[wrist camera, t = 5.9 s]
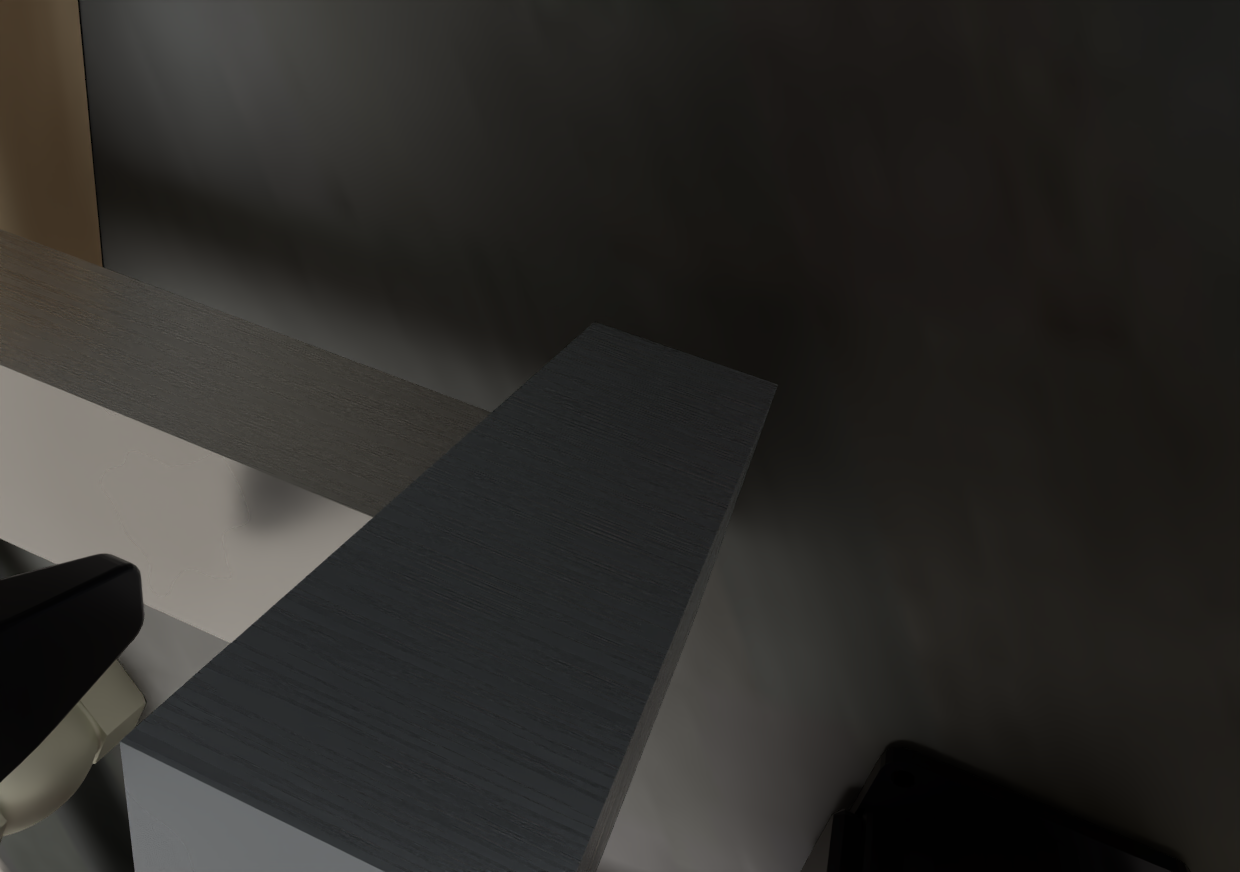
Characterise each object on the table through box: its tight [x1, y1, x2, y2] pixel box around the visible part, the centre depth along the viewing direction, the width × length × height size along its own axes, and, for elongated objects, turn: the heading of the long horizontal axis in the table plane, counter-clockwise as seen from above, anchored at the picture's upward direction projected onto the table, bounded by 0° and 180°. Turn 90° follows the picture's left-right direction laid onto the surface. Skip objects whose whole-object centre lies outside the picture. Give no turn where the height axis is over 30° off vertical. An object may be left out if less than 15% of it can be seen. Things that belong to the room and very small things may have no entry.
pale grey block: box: [0, 229, 778, 872], centre depth 11 cm, size 17×5×9 cm, turn 78°
